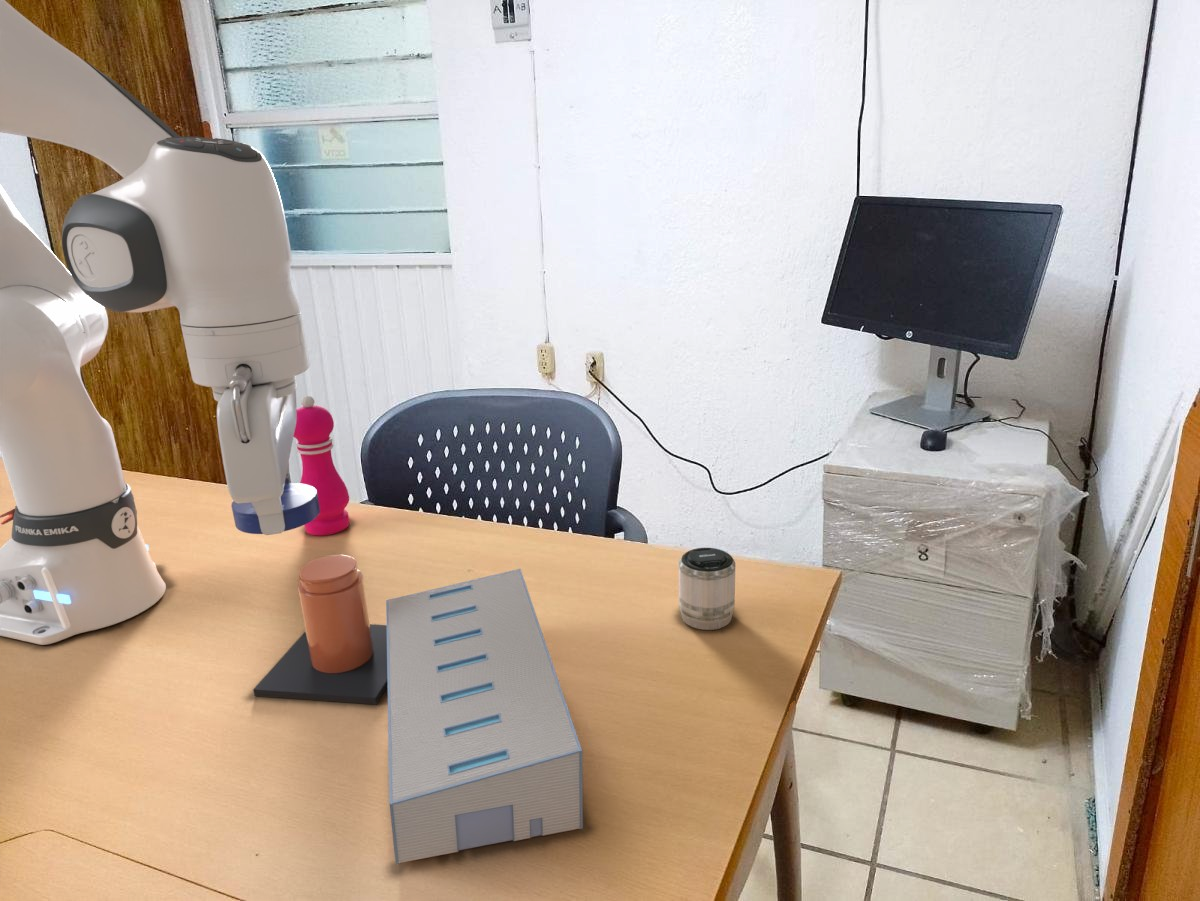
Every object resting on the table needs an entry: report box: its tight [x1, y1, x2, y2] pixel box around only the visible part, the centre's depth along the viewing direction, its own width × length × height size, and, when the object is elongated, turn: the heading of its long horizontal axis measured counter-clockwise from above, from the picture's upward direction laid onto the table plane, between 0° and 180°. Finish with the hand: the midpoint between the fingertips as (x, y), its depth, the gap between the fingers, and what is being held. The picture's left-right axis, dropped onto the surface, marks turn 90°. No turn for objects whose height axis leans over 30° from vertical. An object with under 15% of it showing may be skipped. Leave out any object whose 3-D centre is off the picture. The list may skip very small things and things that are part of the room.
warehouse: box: [385, 568, 584, 865], centre depth 76 cm, size 30×14×8 cm, turn 14°
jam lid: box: [231, 482, 320, 535], centre depth 71 cm, size 7×7×2 cm
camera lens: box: [678, 547, 736, 631], centre depth 93 cm, size 6×6×8 cm
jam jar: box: [297, 554, 373, 673], centre depth 86 cm, size 6×6×11 cm
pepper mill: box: [293, 395, 350, 536], centre depth 118 cm, size 7×7×20 cm
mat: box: [252, 623, 388, 705], centre depth 88 cm, size 13×13×1 cm
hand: (278, 511), depth 71 cm, fingers closed on jam lid, 7 cm apart
